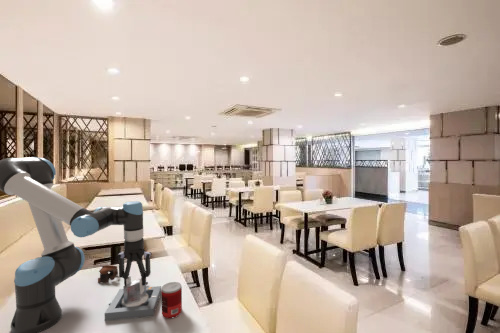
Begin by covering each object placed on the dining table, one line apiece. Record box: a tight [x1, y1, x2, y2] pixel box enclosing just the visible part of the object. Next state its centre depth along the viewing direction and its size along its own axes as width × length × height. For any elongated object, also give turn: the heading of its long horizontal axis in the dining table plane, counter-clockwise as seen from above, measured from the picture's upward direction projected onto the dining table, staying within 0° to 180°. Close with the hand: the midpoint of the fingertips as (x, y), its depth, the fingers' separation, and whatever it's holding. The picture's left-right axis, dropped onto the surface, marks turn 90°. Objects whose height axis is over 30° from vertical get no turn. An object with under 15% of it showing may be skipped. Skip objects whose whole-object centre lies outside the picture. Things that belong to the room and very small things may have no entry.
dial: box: [122, 278, 149, 308], centre depth 112 cm, size 10×10×9 cm
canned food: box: [160, 281, 183, 319], centre depth 107 cm, size 8×8×11 cm
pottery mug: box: [97, 264, 119, 284], centre depth 135 cm, size 12×10×8 cm
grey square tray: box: [104, 285, 162, 322], centre depth 112 cm, size 18×18×3 cm
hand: (135, 292), depth 112 cm, fingers closed on dial, 5 cm apart
